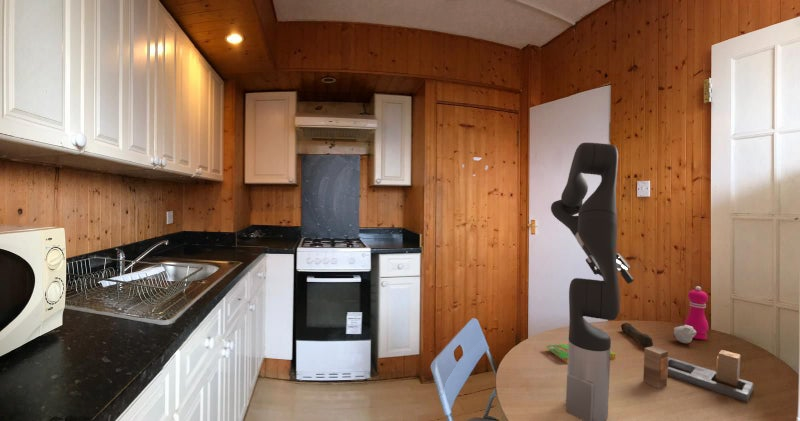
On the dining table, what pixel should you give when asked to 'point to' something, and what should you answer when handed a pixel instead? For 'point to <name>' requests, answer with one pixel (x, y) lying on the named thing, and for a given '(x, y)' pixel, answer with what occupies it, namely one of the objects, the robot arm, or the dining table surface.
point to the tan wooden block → (655, 366)
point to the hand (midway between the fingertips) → (621, 283)
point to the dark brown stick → (637, 335)
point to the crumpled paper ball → (684, 333)
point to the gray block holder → (715, 375)
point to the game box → (562, 352)
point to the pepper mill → (698, 313)
